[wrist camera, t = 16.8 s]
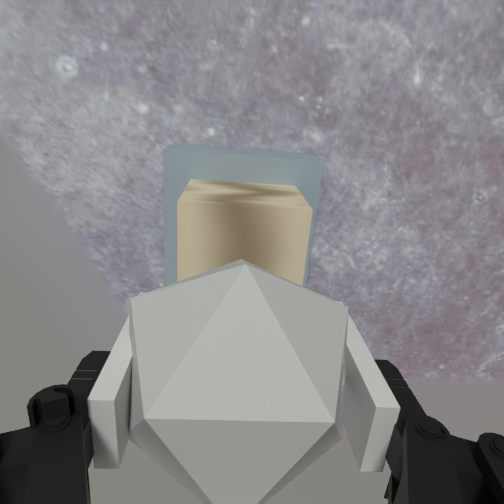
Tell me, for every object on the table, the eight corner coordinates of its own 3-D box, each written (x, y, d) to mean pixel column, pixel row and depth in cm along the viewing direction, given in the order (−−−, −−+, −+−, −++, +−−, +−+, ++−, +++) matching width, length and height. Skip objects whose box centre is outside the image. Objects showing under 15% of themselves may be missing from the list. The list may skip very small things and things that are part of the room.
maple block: (295, 185, 29) (312, 209, 22) (284, 279, 32) (297, 324, 25) (190, 179, 28) (177, 201, 22) (189, 274, 31) (177, 320, 25)
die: (253, 406, 20) (416, 514, 13) (83, 448, 15) (178, 670, 8) (260, 257, 20) (429, 271, 12) (92, 252, 15) (197, 270, 8)
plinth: (313, 154, 32) (324, 160, 28) (297, 280, 36) (304, 300, 32) (171, 143, 31) (163, 148, 27) (172, 274, 35) (164, 294, 32)
